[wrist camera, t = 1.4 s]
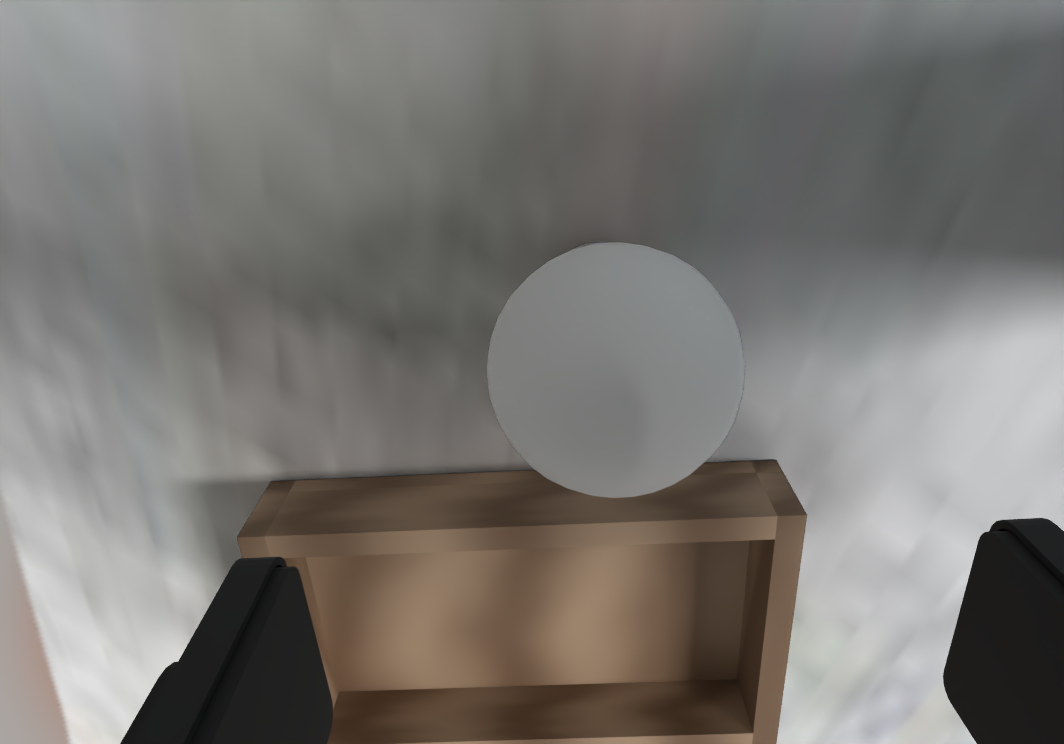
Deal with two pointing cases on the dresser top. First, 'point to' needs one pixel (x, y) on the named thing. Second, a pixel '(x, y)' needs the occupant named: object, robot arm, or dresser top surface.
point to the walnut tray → (544, 604)
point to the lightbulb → (615, 369)
